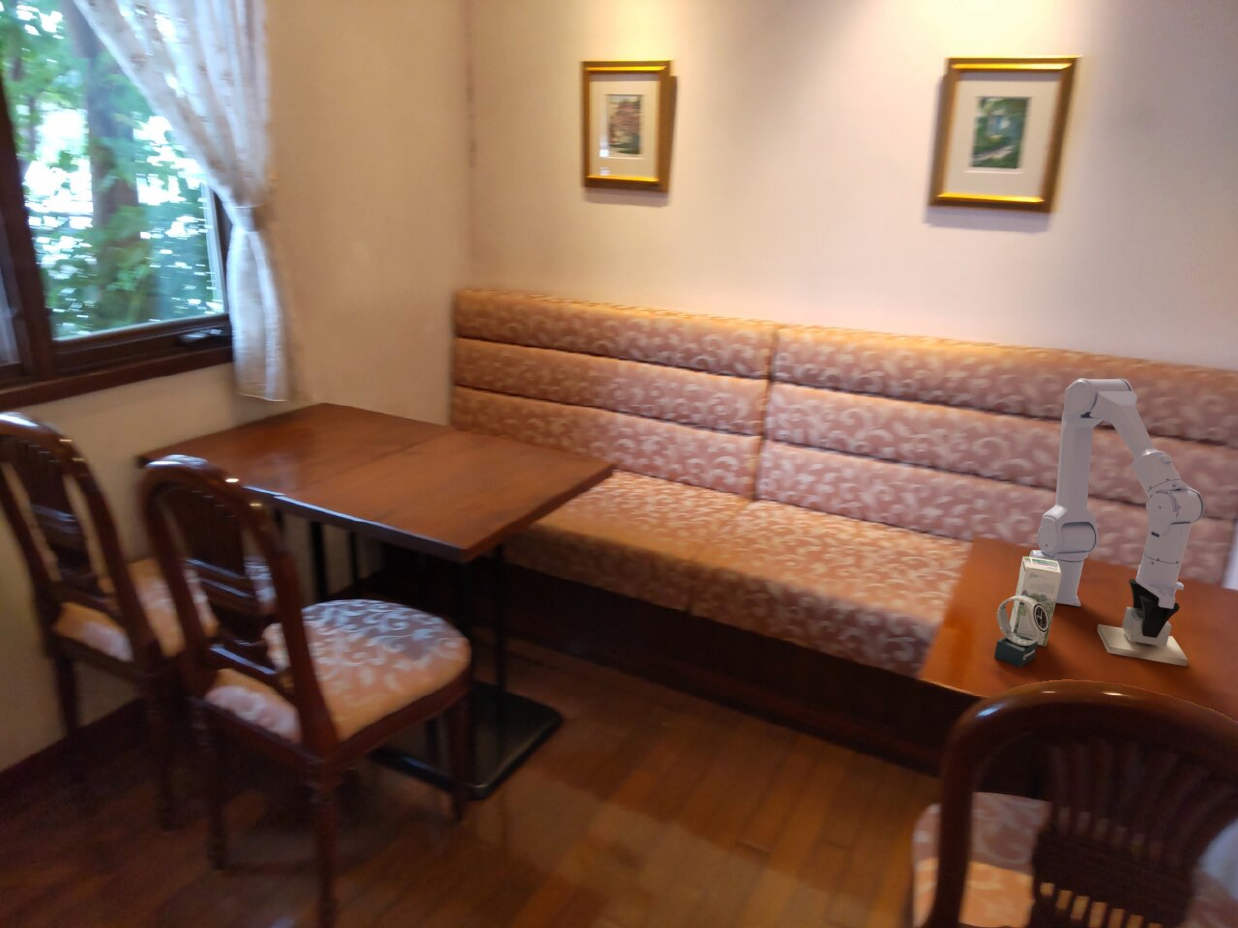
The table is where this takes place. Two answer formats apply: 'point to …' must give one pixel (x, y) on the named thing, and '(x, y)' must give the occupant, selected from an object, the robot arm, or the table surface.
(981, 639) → the table surface
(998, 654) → the watch
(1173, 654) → the keyed post base
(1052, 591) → the syrup box
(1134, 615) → the grey slotted channel block
